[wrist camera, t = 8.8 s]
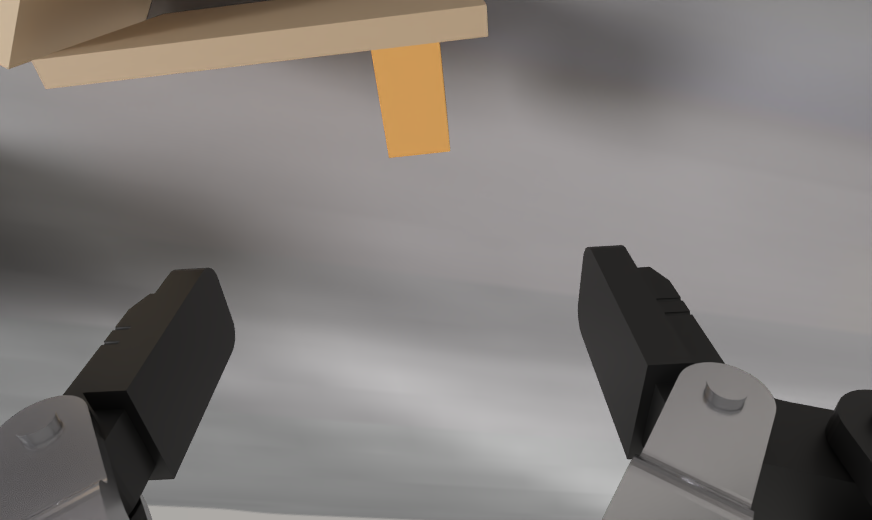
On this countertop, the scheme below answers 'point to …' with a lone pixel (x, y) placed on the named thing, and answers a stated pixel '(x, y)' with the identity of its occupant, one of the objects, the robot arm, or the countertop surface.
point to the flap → (295, 51)
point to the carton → (60, 25)
